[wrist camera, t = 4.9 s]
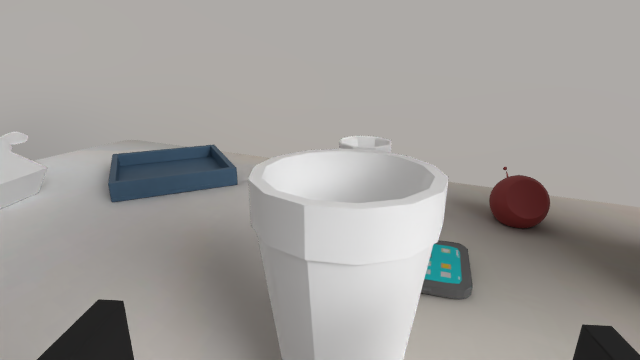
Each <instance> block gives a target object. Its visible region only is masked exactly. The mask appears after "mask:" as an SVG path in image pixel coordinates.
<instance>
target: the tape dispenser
mask: <svg viewBox="0 0 640 360" xmlns="http://www.w3.org/2000/svg"><path fill="white" fill-rule="evenodd" d="M27 139H28V136H27V135H26V134H23V133H21V132H16V131H15V132H10V133H7V134H5V135H3V136H1V137H0V209H1V208H4V207H6V206H9V205H11V204H13V203H16V202H18V201H20V200H23V199H25V198H28V197H30V196H32V195H35V194H37V193H39V191H40V188H41V185H42V182H43V180H44V177H45V174H46V172H47V169H48V167H45V166H43V165H41V164H38V163H36V162H34V161H31V160H29V159H27V158H24V157H22V156H20V155H18V154H16V153H13V152H11V151H10V150H11V149H12V147H11V145H10V144H19V143H23V142H26V141H27Z"/></svg>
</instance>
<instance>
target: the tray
mask: <svg viewBox="0 0 640 360" xmlns="http://www.w3.org/2000/svg"><path fill="white" fill-rule="evenodd" d="M108 185H109V190H110V196H111V201H112V202H117V201H124V200H131V199H138V198H146V197H153V196H160V195H167V194H174V193H181V192H188V191H195V190H202V189H209V188H216V187H223V186H230V185H237V169H236V167H235V166H234V165H233V164H232V163H231V162H230V161H229V160H228V159H227V158H226V157H225V156H224V155H223V153H222V152H221V151H220V150H219V149H218V148H217V147H216V146H214V145H206V146H195V147H185V148H174V149H164V150H153V151H143V152H132V153H121V154H113V156H112V163H111V169H110V176H109V183H108Z"/></svg>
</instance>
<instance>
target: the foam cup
mask: <svg viewBox="0 0 640 360" xmlns="http://www.w3.org/2000/svg"><path fill="white" fill-rule="evenodd" d="M248 185H249V201H250V218H251V226H252V228H253V229H254V230H255V231H256V233H257V237H258V242H259V247H260V252H261V257H262V262H263V267H264V272H265V277H266V282H267V287H268V292H269V297H270V302H271V307H272V312H273V317H274V322H275V327H276V332H277V337H278V342H279V347H280V352H281V357H282V360H403V359H404V355H405V351H406V347H407V343H408V339H409V336H410V332H411V328H412V324H413V320H414V316H415V313H416V309H417V305H418V301H419V297H420V294H421V290H422V286H423V282H424V278H425V274H426V271H427V267H428V263H429V259H430V255H431V252H432V248H433V244H435V243H437V242H438V239H439V236H440V232H441V229H442V226H443V221H444V212H445V204H446V195H447V187H448V176H446V175H445V174H444V173H443V172H442V171H441V170H439V169H438V168H437V167H436V166H435V165H433V164H430V163H427V162H424V161H421V160H418V159H416V158H413V157H409V156H407V155H400V154H394V153H388V152H382V151H376V150H361V149H340V148H339V149H321V150H305V151H300V152H295V153H290V154H284V155H279V156H275V157H273V158H270V159H268V160H266V161H264V162H262V163H260V164H257V165H255V166H254V167H253V170H252V172H251V174H250V176H249V178H248Z"/></svg>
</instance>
